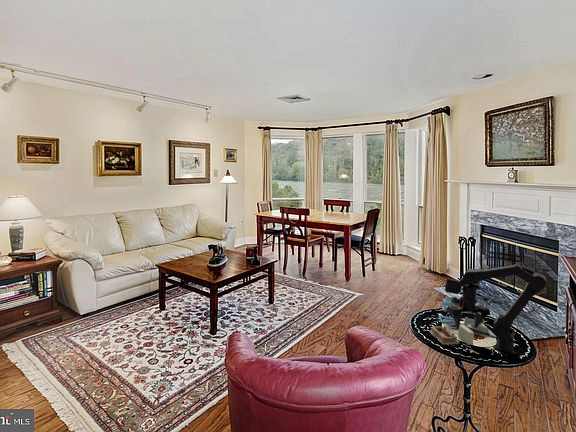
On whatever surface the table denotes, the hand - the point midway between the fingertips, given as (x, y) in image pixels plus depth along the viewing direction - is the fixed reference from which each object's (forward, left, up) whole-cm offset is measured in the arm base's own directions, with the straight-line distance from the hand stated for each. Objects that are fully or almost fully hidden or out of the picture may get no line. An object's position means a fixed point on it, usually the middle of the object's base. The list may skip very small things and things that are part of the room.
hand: (466, 327), depth 163 cm
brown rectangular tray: (+3, +9, -6) cm, 11 cm away
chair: (+22, -4, -7) cm, 23 cm away
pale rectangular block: (0, 0, -6) cm, 6 cm away
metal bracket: (+10, -13, -7) cm, 18 cm away
